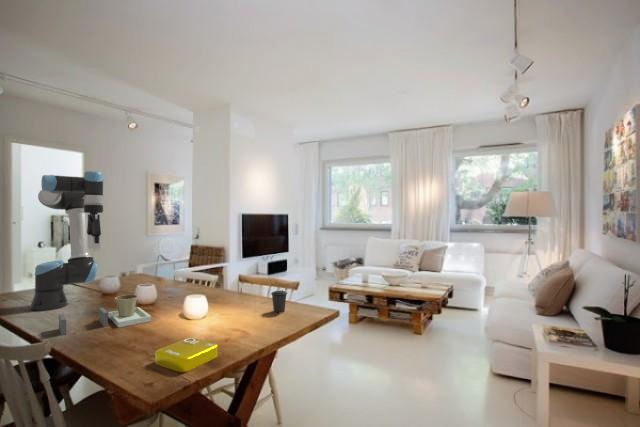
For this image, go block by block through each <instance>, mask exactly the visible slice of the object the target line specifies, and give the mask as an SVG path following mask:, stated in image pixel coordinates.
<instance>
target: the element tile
mask: <svg viewBox="0 0 640 427" xmlns="http://www.w3.org/2000/svg"><path fill="white" fill-rule="evenodd" d="M218 349H219V348H218V344H217V343H214V342H211V341H207V340H202V339H200V338H199V339H198V338H194V337H187V338H183V339H182V340H179V341H175V342H173V343H171V344H169V345H165V346H164V347H160V348H157V349H156V350H155V354H154V355H155V357H154V358H155V361H154V363H155V365H157V366H161V367H163V368H165V369H166V368H167V369H169V370H173V371H176V372H179V373H186V372H190V371H192V370H194V369H196V368H198V367H201V366H202V365H204V364H206V363H208V362H209V361H212V360H214V359H216V358H218V356H219V355H218Z"/></svg>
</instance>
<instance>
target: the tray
mask: <svg viewBox="0 0 640 427" xmlns="http://www.w3.org/2000/svg"><path fill="white" fill-rule="evenodd" d="M108 319H109V320H111V321H112V323H113V324H114V325H115V326H116V328H117V327H118V328H123V327H129V326H133V325H139V324H144V323H149V322H152V315H151V314H149V312H146V311H145V310H143V308H141V307H139V306H138V307H135V311H134V315H132V316H128V317H124V316H123V317H120V316H119V312H118V310H115V311H108Z"/></svg>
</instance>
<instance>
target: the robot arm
mask: <svg viewBox="0 0 640 427" xmlns="http://www.w3.org/2000/svg"><path fill="white" fill-rule="evenodd" d="M83 174H84V175H83V176H71V175H70V176H66V175H54V174H43V175H42V176H41V190H40V191H39V192H38V194H37V197H38V201H39V203H41V205H43V206H45V207H47V208H49V209H53V210H61V211H62V210H64V211H65V214H67V216H68V219H69V220H68V222H69V240H70V242H69V243H70V257H69V258H68V259H67V262H64V260H54V261H53V260H52V261H46V262H43V263H42V262H41V263H39V264H37V265H36V266H35V268H34V269H35V271H34V276H35V278H34V295H33V298H32V300H31V303H30V310H31V311H35V312H37V311H39V312H40V311H42V312H43V311H49V310H55V309H60V308H63V307H66V306H68V305H69V304H68V301H69V300H68V297H67V296H66V293H65V291H64V290H65V289H64V286H68V285H77V284H85V283H91V282H94V280H96V277H97V273H98V261H97V260H94V256H92V255H91V253H90V249H92V251H94V252H95V251H101V235H102V232H101V220H100V213H103V212H104V205H103V204H104V174H103V172H100V171H93V170H92V171H89V170H88V171H85V172H84V173H83ZM98 213H99V214H98Z"/></svg>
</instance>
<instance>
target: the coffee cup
mask: <svg viewBox="0 0 640 427" xmlns="http://www.w3.org/2000/svg"><path fill="white" fill-rule="evenodd" d="M270 294H271V298H272V307H273V308H272V309H273V313H275V312H277V314H279V313H278V312H282V313H284V312H285V311H286V310H285V309H286V301H287V294H288V292H287V291H284V290H275V291H272V292H271V293H270Z"/></svg>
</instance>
